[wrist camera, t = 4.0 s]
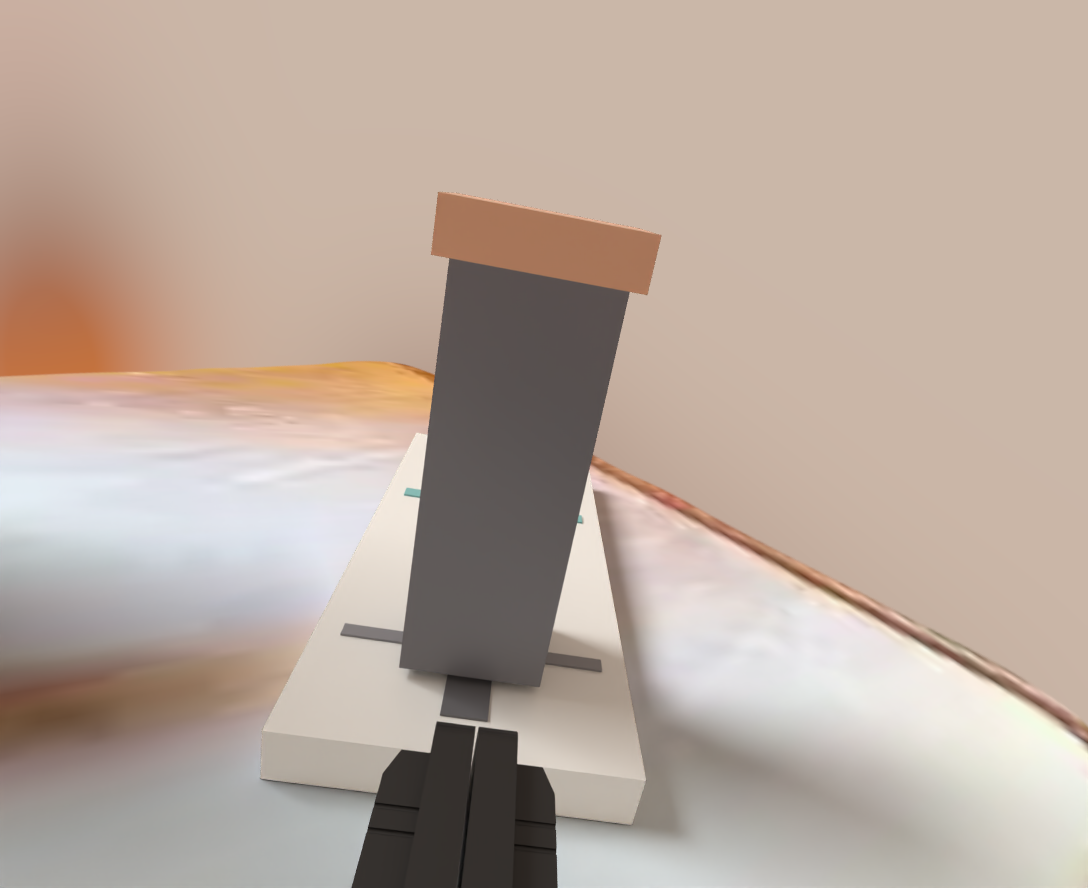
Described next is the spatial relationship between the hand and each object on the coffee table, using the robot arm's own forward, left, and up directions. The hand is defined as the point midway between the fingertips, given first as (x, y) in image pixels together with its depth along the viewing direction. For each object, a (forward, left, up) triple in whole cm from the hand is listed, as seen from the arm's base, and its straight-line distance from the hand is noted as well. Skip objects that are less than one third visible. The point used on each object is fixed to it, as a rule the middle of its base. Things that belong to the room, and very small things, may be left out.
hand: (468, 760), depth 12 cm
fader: (0, +11, -6) cm, 13 cm away
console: (0, +19, -9) cm, 21 cm away
